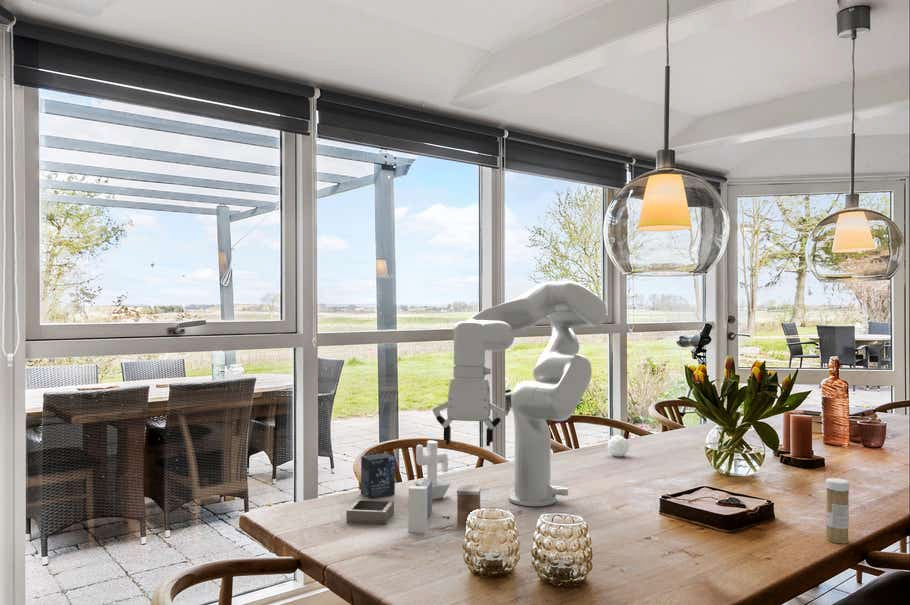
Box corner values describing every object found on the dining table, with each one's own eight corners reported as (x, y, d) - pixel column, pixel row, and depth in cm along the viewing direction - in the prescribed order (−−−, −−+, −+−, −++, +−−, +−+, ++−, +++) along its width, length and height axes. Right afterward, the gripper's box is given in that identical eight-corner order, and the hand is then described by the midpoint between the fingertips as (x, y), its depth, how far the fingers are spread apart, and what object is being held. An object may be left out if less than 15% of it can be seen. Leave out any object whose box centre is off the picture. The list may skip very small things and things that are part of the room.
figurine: (453, 497, 183) (454, 441, 183) (423, 502, 178) (423, 445, 178) (440, 490, 189) (440, 437, 189) (410, 495, 184) (410, 440, 184)
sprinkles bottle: (825, 536, 153) (825, 476, 153) (848, 539, 151) (848, 478, 151) (826, 542, 149) (826, 481, 149) (850, 545, 147) (850, 483, 147)
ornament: (625, 459, 228) (610, 439, 229) (612, 462, 234) (598, 443, 235) (637, 446, 232) (622, 427, 232) (624, 450, 238) (610, 432, 239)
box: (369, 499, 181) (369, 459, 181) (360, 494, 185) (360, 455, 185) (395, 494, 185) (395, 456, 185) (385, 490, 190) (386, 452, 190)
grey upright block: (436, 511, 170) (436, 471, 170) (425, 532, 154) (425, 488, 154) (420, 510, 171) (420, 471, 171) (408, 532, 155) (408, 488, 155)
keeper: (394, 512, 169) (394, 500, 169) (385, 524, 160) (385, 512, 160) (356, 511, 170) (357, 499, 170) (346, 523, 161) (346, 510, 161)
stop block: (480, 519, 164) (480, 485, 164) (478, 526, 159) (478, 491, 159) (459, 518, 165) (459, 485, 165) (456, 525, 160) (456, 490, 160)
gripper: (506, 372, 165) (505, 442, 165) (435, 370, 167) (434, 440, 167) (504, 375, 157) (503, 449, 157) (430, 373, 159) (430, 446, 159)
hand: (468, 444), depth 162 cm, fingers open, 9 cm apart
